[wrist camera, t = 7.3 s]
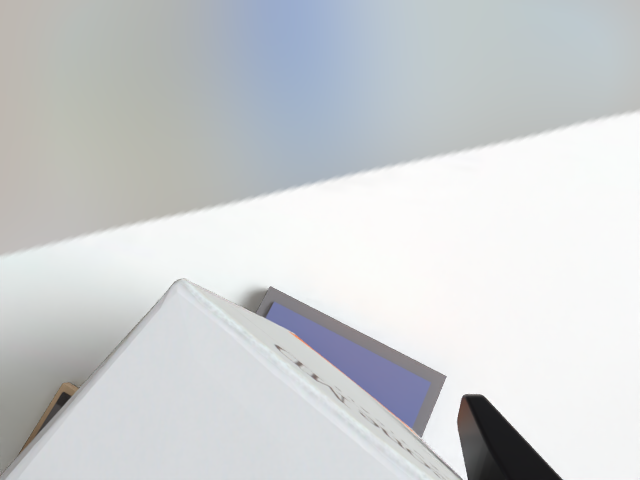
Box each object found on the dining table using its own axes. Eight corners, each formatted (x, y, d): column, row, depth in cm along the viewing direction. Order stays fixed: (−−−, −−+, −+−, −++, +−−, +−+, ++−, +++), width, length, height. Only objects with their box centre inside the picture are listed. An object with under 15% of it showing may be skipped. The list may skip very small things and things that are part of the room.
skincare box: (415, 427, 15) (689, 691, 3) (346, 531, 14) (396, 1327, 3) (289, 324, 16) (174, 261, 5) (218, 415, 15) (-137, 613, 4)
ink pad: (369, 545, 16) (372, 561, 14) (192, 440, 17) (182, 448, 15) (440, 374, 17) (448, 376, 16) (273, 289, 18) (269, 285, 17)
